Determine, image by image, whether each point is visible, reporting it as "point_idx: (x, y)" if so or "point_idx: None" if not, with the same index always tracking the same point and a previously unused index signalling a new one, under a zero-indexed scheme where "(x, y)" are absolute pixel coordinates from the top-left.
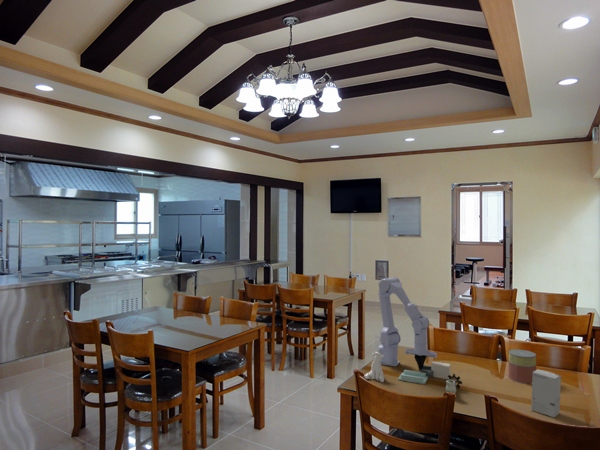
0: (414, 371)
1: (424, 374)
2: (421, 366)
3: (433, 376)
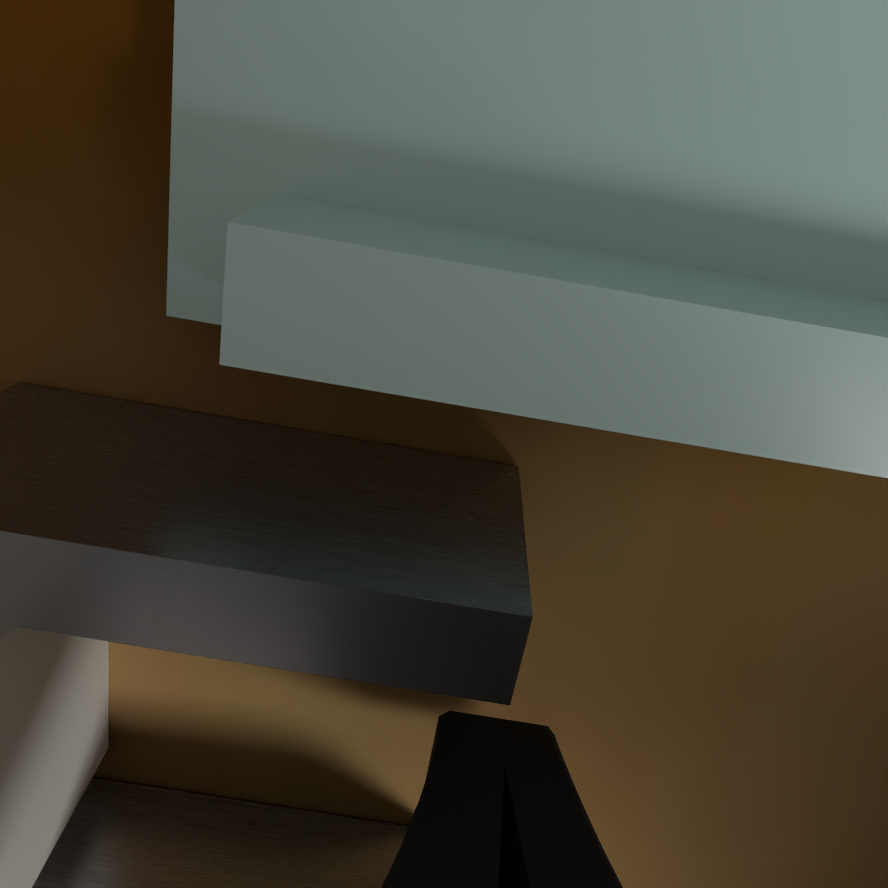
0: (822, 428)
1: (287, 221)
2: (447, 865)
3: None
